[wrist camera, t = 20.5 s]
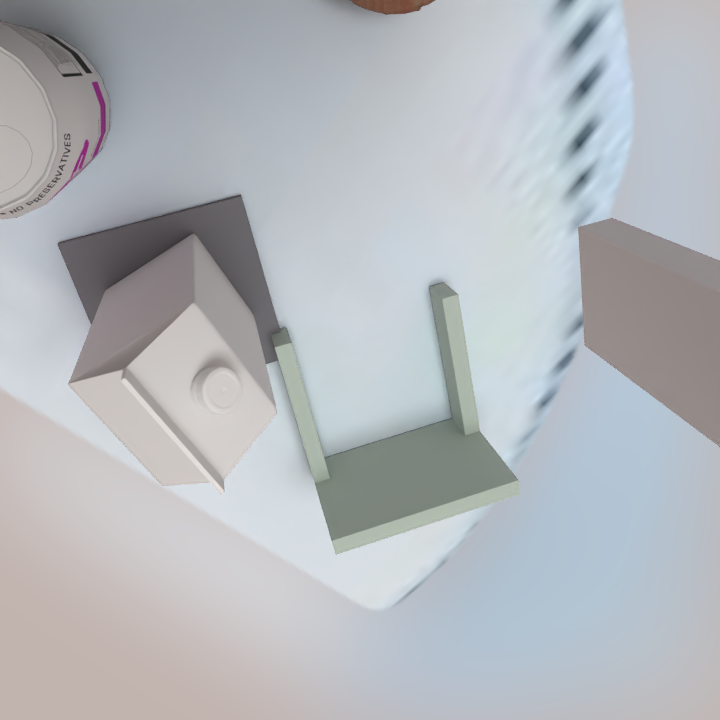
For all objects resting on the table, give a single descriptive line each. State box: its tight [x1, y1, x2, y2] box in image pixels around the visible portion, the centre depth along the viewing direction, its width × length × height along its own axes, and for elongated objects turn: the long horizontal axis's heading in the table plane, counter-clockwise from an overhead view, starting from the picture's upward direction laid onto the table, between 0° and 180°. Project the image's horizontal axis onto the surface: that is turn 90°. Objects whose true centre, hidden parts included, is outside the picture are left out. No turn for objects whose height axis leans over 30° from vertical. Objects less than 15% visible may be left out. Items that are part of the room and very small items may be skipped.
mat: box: [58, 195, 280, 364], centre depth 47 cm, size 12×12×1 cm
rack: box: [271, 283, 520, 554], centre depth 48 cm, size 13×13×10 cm
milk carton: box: [68, 234, 277, 494], centre depth 38 cm, size 7×7×19 cm
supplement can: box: [0, 21, 110, 219], centre depth 34 cm, size 8×8×15 cm
